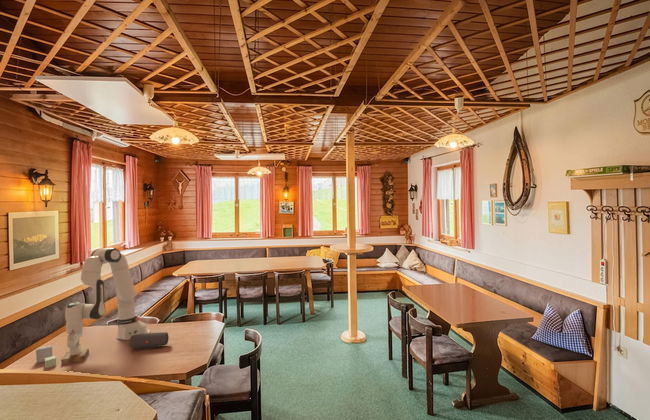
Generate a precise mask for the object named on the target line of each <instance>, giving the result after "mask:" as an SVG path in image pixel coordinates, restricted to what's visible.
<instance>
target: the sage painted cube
mask: <svg viewBox="0 0 650 420" xmlns="http://www.w3.org/2000/svg"><path fill="white" fill-rule="evenodd" d="M53 366H54V367H57V358H56V355H53V356H52V357H48V358H45V362H44V367H46V368H47V369H50V368H53ZM49 367H50V368H49ZM46 368H45V369H46Z"/></svg>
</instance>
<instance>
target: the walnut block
mask: <svg viewBox="0 0 650 420" xmlns="http://www.w3.org/2000/svg"><path fill="white" fill-rule="evenodd" d="M89 354H90V348H84V349H83V348H81V352H80V354H78V355H72V356H70V355H69V351H66V353H65V354H63V357H62V358H61V366H65V365H69V364H75V363H76V364H77V363H81V362H85V361H86V359H87V358H88V356H89Z"/></svg>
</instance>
